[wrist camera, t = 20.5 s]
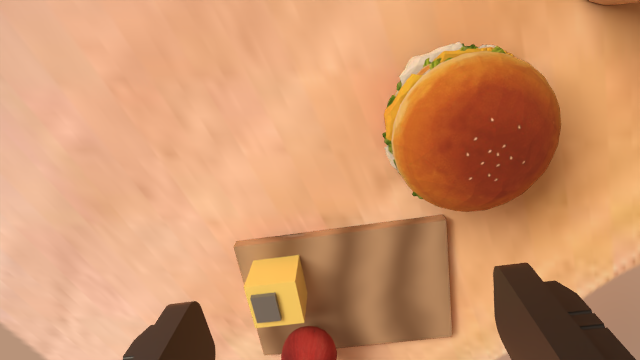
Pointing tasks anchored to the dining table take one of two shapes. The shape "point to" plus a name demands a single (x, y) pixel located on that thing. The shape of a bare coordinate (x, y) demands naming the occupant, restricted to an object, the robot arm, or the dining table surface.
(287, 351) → the onion
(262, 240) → the board
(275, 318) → the yellow cube
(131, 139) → the dining table surface
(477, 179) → the burger
